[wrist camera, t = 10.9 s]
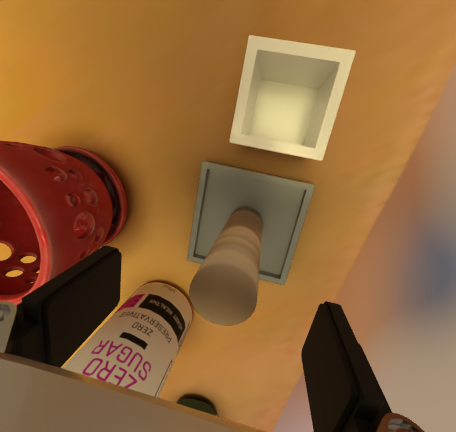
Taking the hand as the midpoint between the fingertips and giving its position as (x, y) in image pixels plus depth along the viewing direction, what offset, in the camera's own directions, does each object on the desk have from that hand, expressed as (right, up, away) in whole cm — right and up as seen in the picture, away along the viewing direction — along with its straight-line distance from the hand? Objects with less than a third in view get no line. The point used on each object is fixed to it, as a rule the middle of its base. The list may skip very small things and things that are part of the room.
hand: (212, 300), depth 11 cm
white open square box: (+6, +13, +11) cm, 18 cm away
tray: (+3, +3, +15) cm, 15 cm away
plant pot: (-16, +6, +17) cm, 24 cm away
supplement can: (-8, -8, +20) cm, 23 cm away
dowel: (+3, +3, +14) cm, 14 cm away
